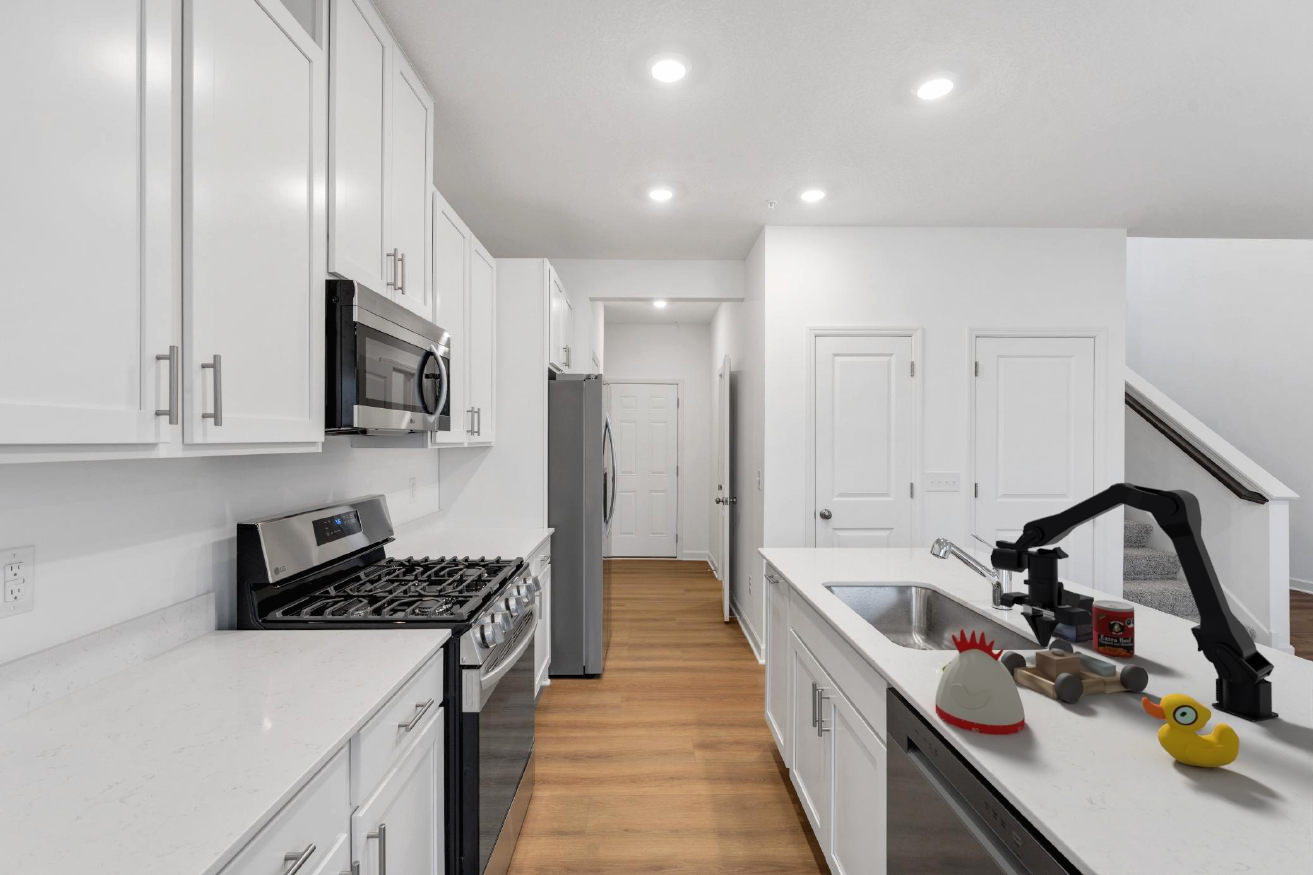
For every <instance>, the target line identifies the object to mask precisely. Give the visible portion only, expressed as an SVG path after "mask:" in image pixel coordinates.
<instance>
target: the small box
mask: <svg viewBox="0 0 1313 875" xmlns="http://www.w3.org/2000/svg"><path fill="white" fill-rule="evenodd" d="M1075 593H1076V594H1079V595H1081V597H1080V600H1079V604H1078V608H1081V609H1084V610H1088V611H1089V612H1090V614H1091V616H1092V624H1088V625H1079V626H1068V625H1064V624H1061V623H1059V624H1058V625H1057V627H1056V628H1055V630H1054V632H1053V635H1052V636H1055V637H1057V638H1061V639H1063V640H1066V641H1068V642H1071V643H1075V644H1079V643H1085V642H1087V643H1088V642H1093V602H1094V601H1095V597H1094V596H1090V595H1085V594H1080V593H1077V592H1075ZM1038 607H1039V606H1038ZM1058 607H1059V608H1064V607H1072V606H1068V605H1066V606H1058ZM1049 610H1050V609H1049Z"/></svg>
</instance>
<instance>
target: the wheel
mask: <svg viewBox="0 0 1313 875" xmlns="http://www.w3.org/2000/svg"><path fill="white" fill-rule="evenodd" d="M1053 648H1057V649H1061V650H1064V651H1066V652H1069V653H1072V654H1073V653H1074V652H1075V651H1074V647H1073V645H1072V643H1070V642H1069V641H1067V640H1066V641H1065V640H1064V639H1063V640H1062V639H1058V638H1056V639H1054V640H1053V641H1052V642H1051V643H1049V645H1048V650H1052V649H1053Z"/></svg>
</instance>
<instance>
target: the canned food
mask: <svg viewBox="0 0 1313 875" xmlns="http://www.w3.org/2000/svg"><path fill="white" fill-rule="evenodd" d="M1135 634H1136V632H1135V607H1134V606H1133V605H1132V604H1129V603H1128V602H1123V601H1122V602H1121V601H1118V600H1109V599H1108V600H1106V599H1099V600H1094V602H1093V641H1092V647H1093V650H1094V652H1096V653H1098V654H1099V655H1102V656H1105V657H1109V658H1115V659H1130V658H1133V657H1134V655H1135V652H1136V651H1135V648H1136V647H1135V643H1136V642H1135Z"/></svg>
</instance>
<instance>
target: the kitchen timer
mask: <svg viewBox="0 0 1313 875" xmlns="http://www.w3.org/2000/svg"><path fill="white" fill-rule="evenodd" d="M959 633H960V634H959V638H957V636H956V635H955V634H954V633H953V634H952V635H951V638H952V641H953V644H954V646H955V648H956V649H957V651H958V653H957V654H956V655H955V656H954V657H953V658H952V659H951V660H950V661H949V662H948V663H947V664H945V665H944V666H943V667H942V668H941V670H942V674H941V677H940V679H939V682H938V685H937V689H936V692H935V714H936V715H937V716H938V717H939V718H940V719H941V720H943V721H944V722H946V723H948V724H950V725H952V726H954V727H956V728H959V729H962V730H965V731H969V732H974V733H977V734H982V735H983V734H984V735H991V736H992V735H994V736H1009V735H1014V734H1018V733H1020V732H1021V731H1023V730H1024V728H1025V726H1026V725H1025V724H1026V719H1025V717H1026V716H1025V710H1024V709H1025V708H1024V705H1023V701H1022V699H1021V696H1020V692H1019V690H1018V688H1017V685H1016V681H1014V677H1012V676H1011V674H1010V673H1009V671H1008V670H1007V668H1006V667H1005V666H1004V665H1003V663H1002V662H1001V657H1002V655H1003V652H1004V647H1002V648H1001V649H1000V650H999V652H997V653H994V652H993V647H994V644H995V639H992V640H991V641H990V642H989V644H988V645H987V642H986V635H985V631H984V630H983V631H982V632H981V633H980V637H979V640H978V641H977V636H976V631H975V629H973V630H972V632H971V635H970V637H969V641H968V639H967V636H966V634H965V631H964V629H963V628H962V629H960V631H959Z"/></svg>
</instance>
